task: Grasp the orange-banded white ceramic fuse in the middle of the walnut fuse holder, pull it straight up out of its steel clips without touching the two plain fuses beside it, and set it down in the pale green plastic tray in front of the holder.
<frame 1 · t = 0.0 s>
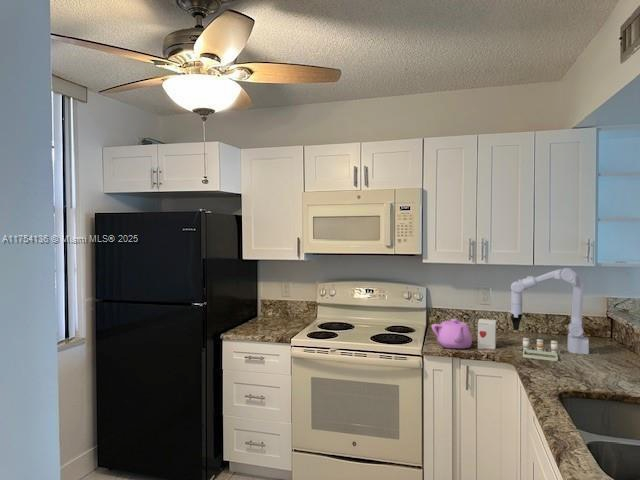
hand: (516, 328, 235), 10 cm above the worktop, tool pointing down, fingers open, 7 cm apart
tray: (539, 358, 214), on the worktop
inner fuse: (554, 352, 220), point 1 cm above the worktop, touching fuse holder
fuse holder: (539, 353, 223), on the worktop
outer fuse: (525, 349, 226), point 1 cm above the worktop, touching fuse holder
teapot: (454, 347, 235), on the worktop
supplement box: (486, 348, 232), on the worktop
marked fuse: (539, 351, 223), point 1 cm above the worktop, touching fuse holder
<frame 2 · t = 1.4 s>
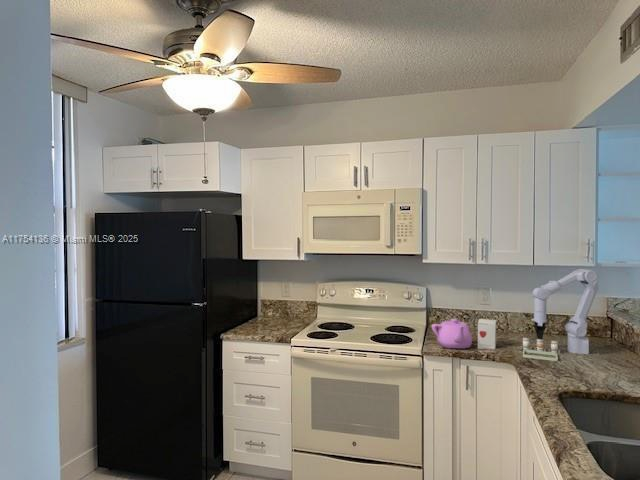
hand: (539, 337, 223), 8 cm above the worktop, tool pointing down, fingers open, 7 cm apart
nothing on the worktop moved.
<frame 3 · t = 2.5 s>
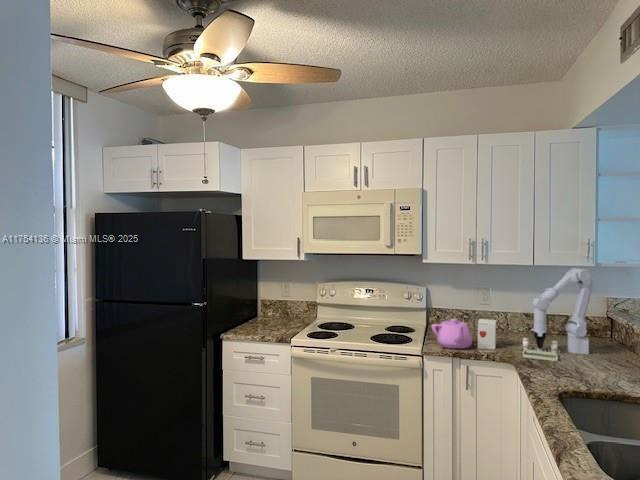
hand: (539, 347, 223), 3 cm above the worktop, tool pointing down, fingers closed on marked fuse, 3 cm apart
marked fuse: (539, 351, 223), point 1 cm above the worktop, touching fuse holder, gripper
everything else where it was.
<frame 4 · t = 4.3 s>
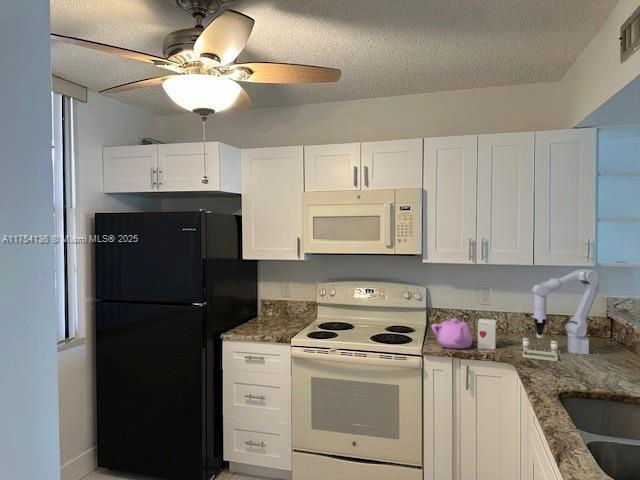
hand: (539, 334, 223), 10 cm above the worktop, tool pointing down, fingers closed on marked fuse, 3 cm apart
marked fuse: (539, 337, 223), point 8 cm above the worktop, touching gripper
everything else where it was.
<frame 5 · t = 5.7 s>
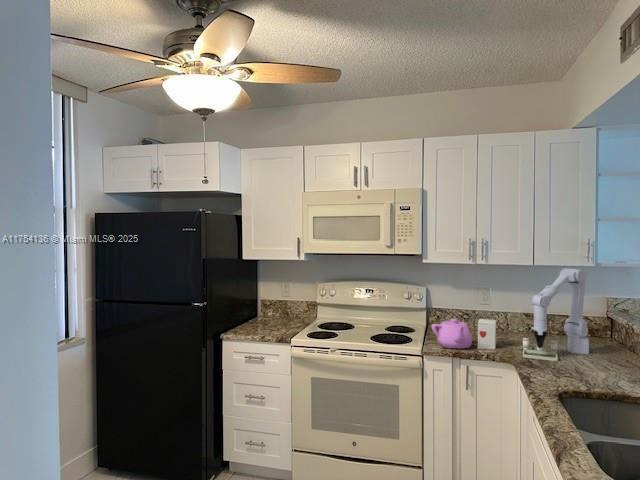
hand: (540, 346, 214), 6 cm above the worktop, tool pointing down, fingers closed on marked fuse, 3 cm apart
marked fuse: (539, 350, 214), point 4 cm above the worktop, touching gripper
everything else where it was.
when the fingers open (4 cm above the worktop, at t = 6.3 s): marked fuse drops 1 cm, resting on tray.
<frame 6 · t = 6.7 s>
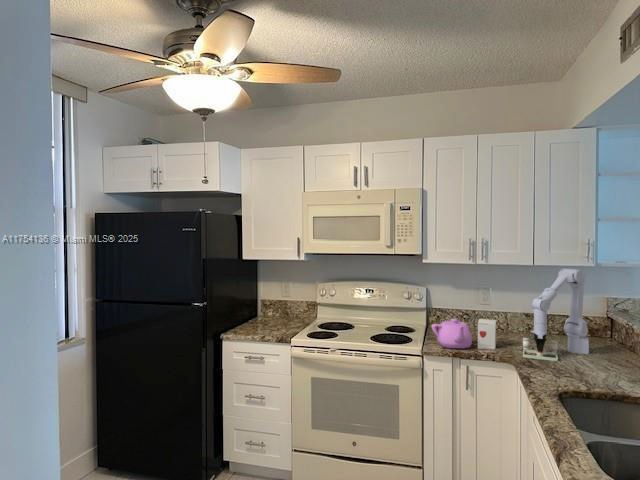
hand: (540, 350, 214), 4 cm above the worktop, tool pointing down, fingers open, 6 cm apart
marked fuse: (539, 356, 214), point 1 cm above the worktop, touching tray
everything else where it was.
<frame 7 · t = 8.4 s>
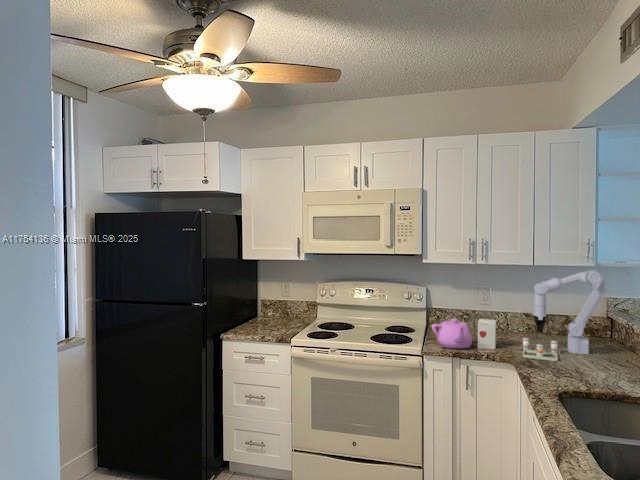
hand: (539, 331, 229), 10 cm above the worktop, tool pointing down, fingers open, 7 cm apart
nothing on the worktop moved.
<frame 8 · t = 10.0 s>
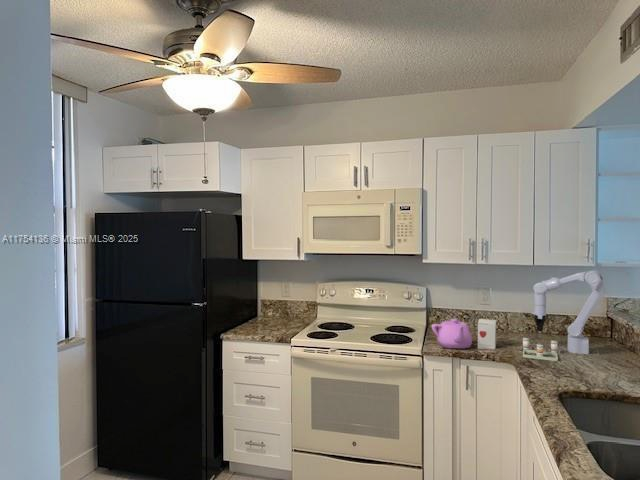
hand: (539, 329, 232), 10 cm above the worktop, tool pointing down, fingers open, 7 cm apart
nothing on the worktop moved.
at the end: marked fuse inside the target area on the tray (0.1 cm from its centre), point 0.6 cm above the tray's base; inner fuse moved 0.0 cm from its start; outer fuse moved 0.0 cm from its start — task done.
